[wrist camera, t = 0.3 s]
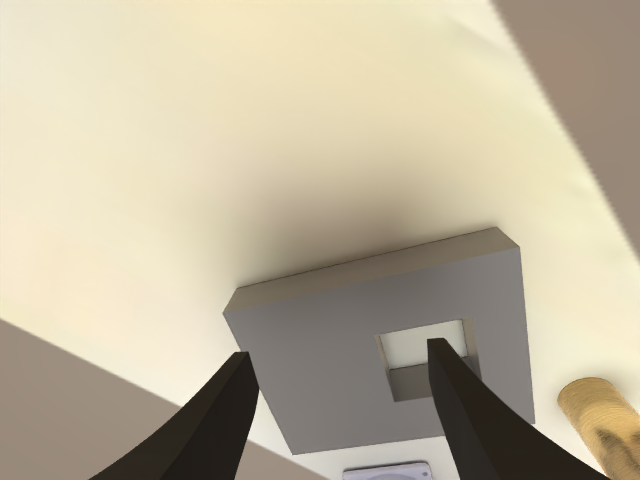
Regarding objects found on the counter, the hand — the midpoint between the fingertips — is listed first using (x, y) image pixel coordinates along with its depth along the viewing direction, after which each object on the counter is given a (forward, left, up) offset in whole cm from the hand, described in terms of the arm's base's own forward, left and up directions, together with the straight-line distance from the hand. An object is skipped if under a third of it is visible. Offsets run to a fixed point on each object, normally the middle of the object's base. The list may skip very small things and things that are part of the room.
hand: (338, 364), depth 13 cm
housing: (-7, -1, -10) cm, 12 cm away
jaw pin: (-16, -15, -10) cm, 24 cm away
